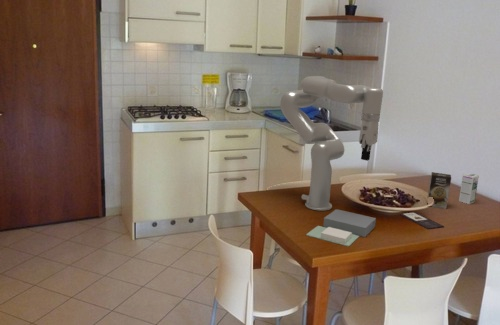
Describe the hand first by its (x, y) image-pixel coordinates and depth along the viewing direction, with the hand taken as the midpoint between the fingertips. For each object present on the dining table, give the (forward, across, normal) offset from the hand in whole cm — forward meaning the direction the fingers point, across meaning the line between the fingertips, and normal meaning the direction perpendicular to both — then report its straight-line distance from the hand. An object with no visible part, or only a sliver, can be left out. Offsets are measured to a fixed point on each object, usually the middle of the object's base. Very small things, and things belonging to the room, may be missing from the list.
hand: (365, 159), depth 207 cm
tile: (+25, -26, -1) cm, 36 cm away
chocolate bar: (+28, +19, -23) cm, 41 cm away
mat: (+28, -24, +1) cm, 37 cm away
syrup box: (+28, +63, -34) cm, 77 cm away
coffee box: (+28, +46, -23) cm, 58 cm away
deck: (+28, -10, 0) cm, 30 cm away
